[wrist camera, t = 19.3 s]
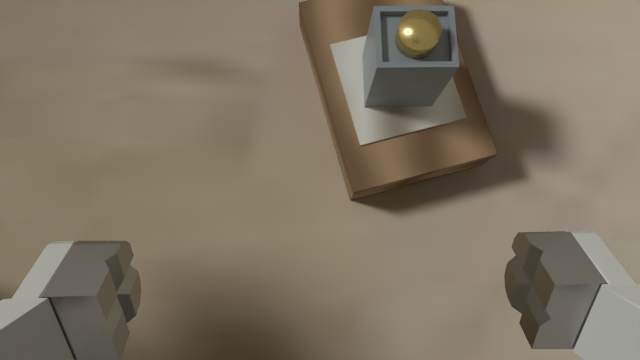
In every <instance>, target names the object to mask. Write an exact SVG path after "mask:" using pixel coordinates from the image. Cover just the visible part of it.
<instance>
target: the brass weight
mask: <svg viewBox="0 0 640 360" xmlns="http://www.w3.org/2000/svg"><path fill="white" fill-rule="evenodd" d="M441 33H442V26H441V23H440V21H439V19H438V18H437V16H436V15H435V14H433V13H432V12H430V11H428V10H425V9H414V10H411V11H409V12H407V13H406V14H405V15H404V16H403V17H402V19H401V21H400V23H399V26H398V29H397V32H396V35H395V44H396V47H397V49H398V50H399V51H400V53H402V54H403V55H404V56H406V57H408V58H411V59H422V58H425V57H427V56H428V55H430V54H431V53H432V51H433V50H434V48H435V46H436V44H437V42H438V40H439V39H440V36H441Z"/></svg>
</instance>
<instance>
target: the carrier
mask: <svg viewBox="0 0 640 360" xmlns="http://www.w3.org/2000/svg"><path fill="white" fill-rule="evenodd" d="M414 9H425V10H428V11H430V12H432V13H433V14H435V15H436V16H437V18H438V19H439V21H440V23H441V26H442V33H441V36H440V39H439V40H438V42H437V44H436V46H435V48H434V50H433V51H432V53H431V54H430V55H428V56H427V57H425V58H422V59H411V58H408V57H406V56H404V55H403V54H402V53H400V51H399V50H398V49H397V47H396V44H395V35H396V32H397V29H398V26H399V23H400V21H401V19H402V17H403V16H404V15H405V14H406V13H407V12H409V11H411V10H414ZM362 62H363V86H364V107H418V106H432V105H433V104H434V102H435V101H436V100H437V98H438V97H439V95H440V94H441V92H442V91H443V89H444V88H445V87H446V85H447V84H448V82H449V81H450V79H451V78H452V77H453V75H454V74H455V72H456V71H457V69H458V68H459V58H458V46H457V34H456V23H455V11H454V5H449V6H374V8H373V12H372V16H371V20H370V25H369V29H368V33H367V38H366V42H365V46H364V50H363V55H362Z"/></svg>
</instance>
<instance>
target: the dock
mask: <svg viewBox="0 0 640 360" xmlns="http://www.w3.org/2000/svg"><path fill="white" fill-rule="evenodd" d="M374 6H445V5H444V2H443V0H308V1H303V2H299V17H300V29H301V32H302V36H303V39H304V43H305V46H306V49H307V53H308V56H309V60H310V63H311V67H312V70H313V74H314V77H315V80H316V84H317V87H318V91H319V94H320V98H321V101H322V105H323V108H324V112H325V115H326V118H327V122H328V125H329V129H330V132H331V136H332V139H333V143H334V146H335V149H336V153H337V156H338V160H339V163H340V167H341V170H342V174H343V177H344V181H345V184H346V187H347V191H348V194H349V198H350V200H354V199H358V198H361V197H365V196H369V195H372V194H376V193H380V192H384V191H387V190H391V189H395V188H398V187H402V186H406V185H410V184H413V183H417V182H421V181H424V180H428V179H432V178H436V177H439V176H443V175H447V174H451V173H454V172H458V171H462V170H465V169H469V168H473V167H477V166H480V165H482V164H483V163H485V162H486V161H488V160H489V159H491V158H492V157H494V156H495V155H497V151H496V148H495V145H494V142H493V140H492V137H491V134H490V131H489V128H488V126H487V123H486V120H485V117H484V114H483V112H482V109H481V106H480V103H479V100H478V98H477V95H476V92H475V89H474V86H473V84H472V81H471V78H470V75H469V72H468V70H467V67H466V64H465V61H464V58H463V56H462V53H461V50H460V47H459V44H458V42H457V46H458V58H459V68H458V69H457V71H456V72H455V74H454V75H453V77H452V78H451V79H450V81H449V82H448V84H447V85H446V87H445V88H444V89H443V91H442V92H441V94H440V95H439V97H438V98H437V100H436V101H435V102H434V104H433V105H432V106H418V107H364V86H363V62H362V55H363V50H364V46H365V42H366V38H367V33H368V29H369V25H370V20H371V16H372V12H373V8H374Z"/></svg>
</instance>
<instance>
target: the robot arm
mask: <svg viewBox="0 0 640 360" xmlns="http://www.w3.org/2000/svg"><path fill="white" fill-rule="evenodd" d="M512 249H513V251H514V253H515V254H516V256H515V257H513V258H512V259H511V260H510V261H509V262H508V263H507V266H506V271H505V289H506V293H507V297H508V299H509V302H510V304H511V306H512V307H513V308H515V309H516V310H517V311H519V312H520V313H522V316H521V319H520V322H519V323H520V325H521V327H522V330H523V332H524V334H525V336H526V338H527V340H528V342H529V344H530V346H531V348H532V349H574V350H573V351H574V352H575V353H576V354H577V355H578V356H579V357H581V358H582V359H583V360H640V284H636V283H635V282H634V281H633V279H632V278H631V277H630V276H629V274H628V273H627V272H626V271H625V269H624V268H623V267H622V266H621V264H620V263H619V262H618V261H617V259H616V258H615V257H614V255H613V254H612V253H611V252H610V250H609V249H608V248H607V247H606V245H605V244H604V243H603V242H602V240H601V239H600V238H599V237H598V235H597V234H596V233H595V232H593V231H591V230H569V231H555V232H518V234H517V235H516V236H515V238H514V241H513V244H512ZM133 256H134V255H133V252H132V249H131V245H130V243H128V242H127V241H53V242H51V243H50V244H48V245H47V246H46V247H45V249H44V250H43V252H42V253H41V255H40V256H39V258H38V259H37V261H36V262H35V264H34V265H33V267H32V268H31V270H30V271H29V273H28V274H27V276H26V277H25V279H24V280H23V282H22V283H21V285H20V286H19V288H18V289H17V291H16V293H15V294H14V296H13V297H12V299H3V300H1V301H0V360H120V358H121V355H122V352H123V350H124V347H125V344H126V341H127V339H128V336H129V329H128V326H127V323H128V322H129V321H130V320H131V319H132V318H134V317H135V316H136V314H137V311H138V308H139V305H140V298H141V281H140V276H139V273H138V271H137V270H136V269H135V268H133V267H132V266H131V265H130V263H131V261H132V259H133Z"/></svg>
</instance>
